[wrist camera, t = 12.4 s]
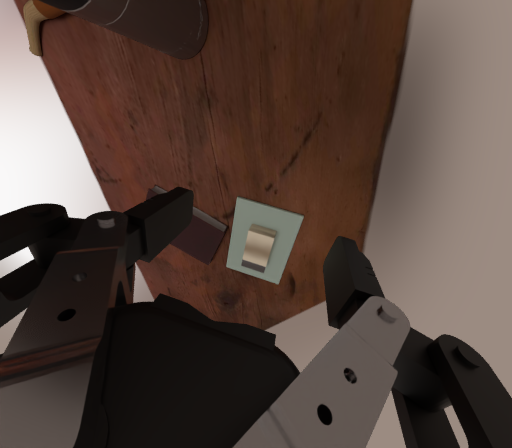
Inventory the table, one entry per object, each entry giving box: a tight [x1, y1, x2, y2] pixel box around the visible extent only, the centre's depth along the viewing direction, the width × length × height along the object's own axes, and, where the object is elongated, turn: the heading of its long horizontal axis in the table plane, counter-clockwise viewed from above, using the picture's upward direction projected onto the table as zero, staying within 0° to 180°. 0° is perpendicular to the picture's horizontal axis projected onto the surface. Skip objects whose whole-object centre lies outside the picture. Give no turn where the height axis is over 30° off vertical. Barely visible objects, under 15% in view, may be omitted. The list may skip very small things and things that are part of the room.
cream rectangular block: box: [241, 224, 277, 273], centre depth 43 cm, size 10×6×3 cm, turn 168°
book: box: [146, 185, 228, 265], centre depth 47 cm, size 12×19×3 cm, turn 63°
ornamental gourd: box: [23, 0, 66, 56], centre depth 30 cm, size 7×18×6 cm, turn 127°
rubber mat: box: [226, 196, 304, 284], centre depth 45 cm, size 14×20×1 cm
